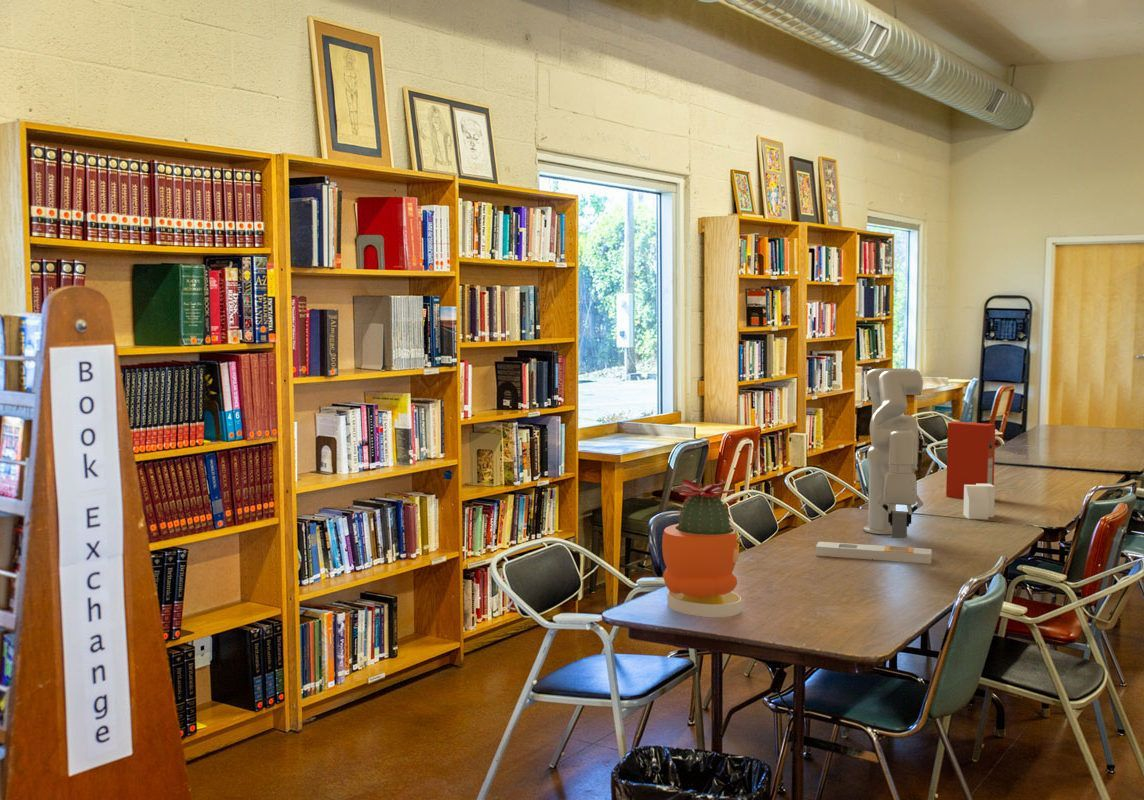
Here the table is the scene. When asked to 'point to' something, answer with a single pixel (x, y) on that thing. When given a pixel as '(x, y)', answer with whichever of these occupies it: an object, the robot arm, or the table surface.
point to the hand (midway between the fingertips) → (899, 524)
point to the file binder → (969, 456)
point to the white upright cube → (979, 501)
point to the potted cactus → (701, 555)
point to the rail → (874, 552)
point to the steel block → (899, 524)
